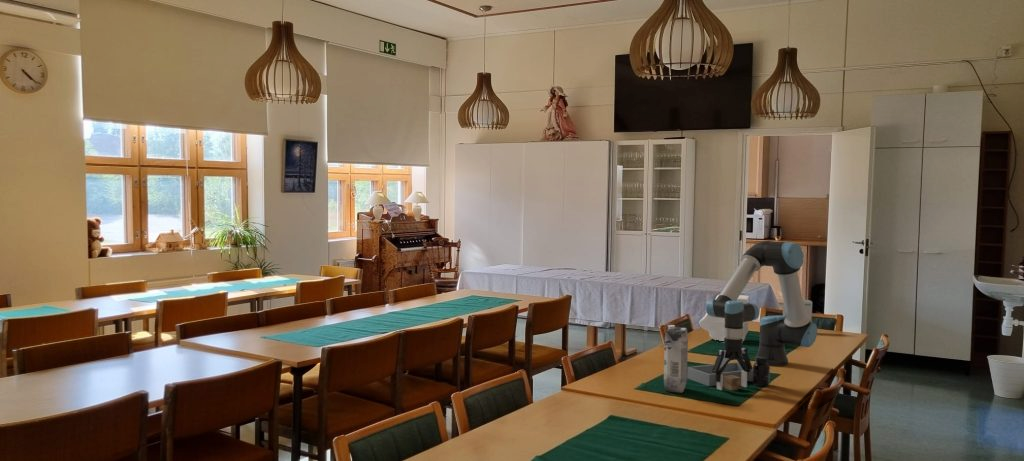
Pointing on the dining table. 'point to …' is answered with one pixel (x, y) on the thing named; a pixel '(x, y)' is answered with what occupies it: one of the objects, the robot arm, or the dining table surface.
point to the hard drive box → (806, 305)
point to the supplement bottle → (761, 372)
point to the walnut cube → (731, 382)
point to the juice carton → (675, 359)
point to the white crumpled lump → (721, 323)
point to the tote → (709, 378)
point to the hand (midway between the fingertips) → (731, 388)
